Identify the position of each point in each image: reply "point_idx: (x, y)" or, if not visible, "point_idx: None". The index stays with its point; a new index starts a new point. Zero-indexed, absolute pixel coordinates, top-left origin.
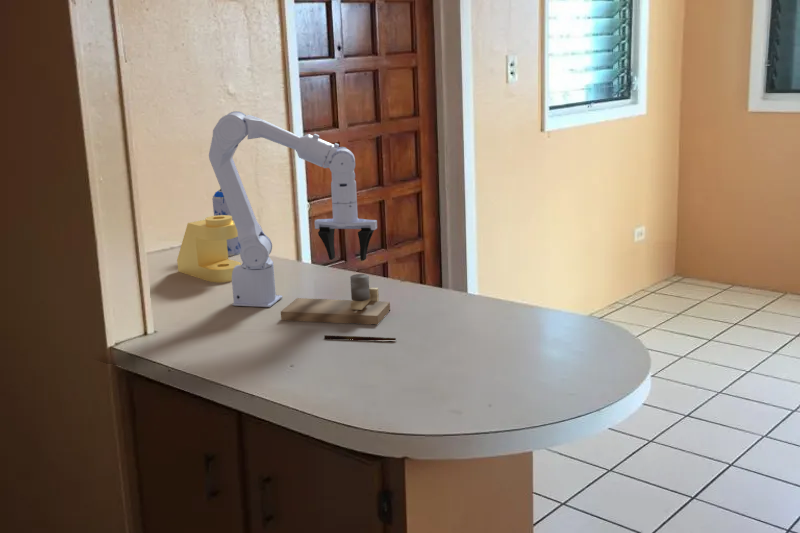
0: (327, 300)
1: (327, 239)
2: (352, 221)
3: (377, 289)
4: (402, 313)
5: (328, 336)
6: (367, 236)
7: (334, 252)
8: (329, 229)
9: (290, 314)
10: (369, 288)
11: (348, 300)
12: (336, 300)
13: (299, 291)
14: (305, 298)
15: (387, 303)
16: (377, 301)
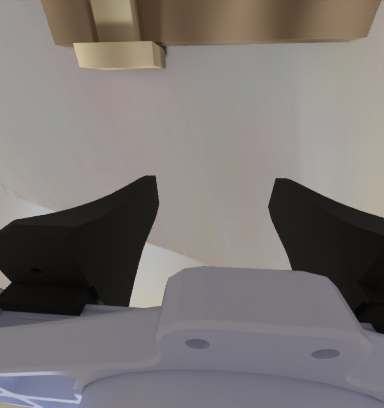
0: (253, 22)
1: (348, 219)
2: (88, 399)
3: (77, 54)
4: (25, 22)
5: None
6: (21, 220)
7: (273, 220)
8: (363, 313)
9: None
10: (103, 51)
11: (182, 37)
12: (221, 28)
13: (337, 180)
14: (335, 35)
15: (50, 21)
16: (90, 41)
